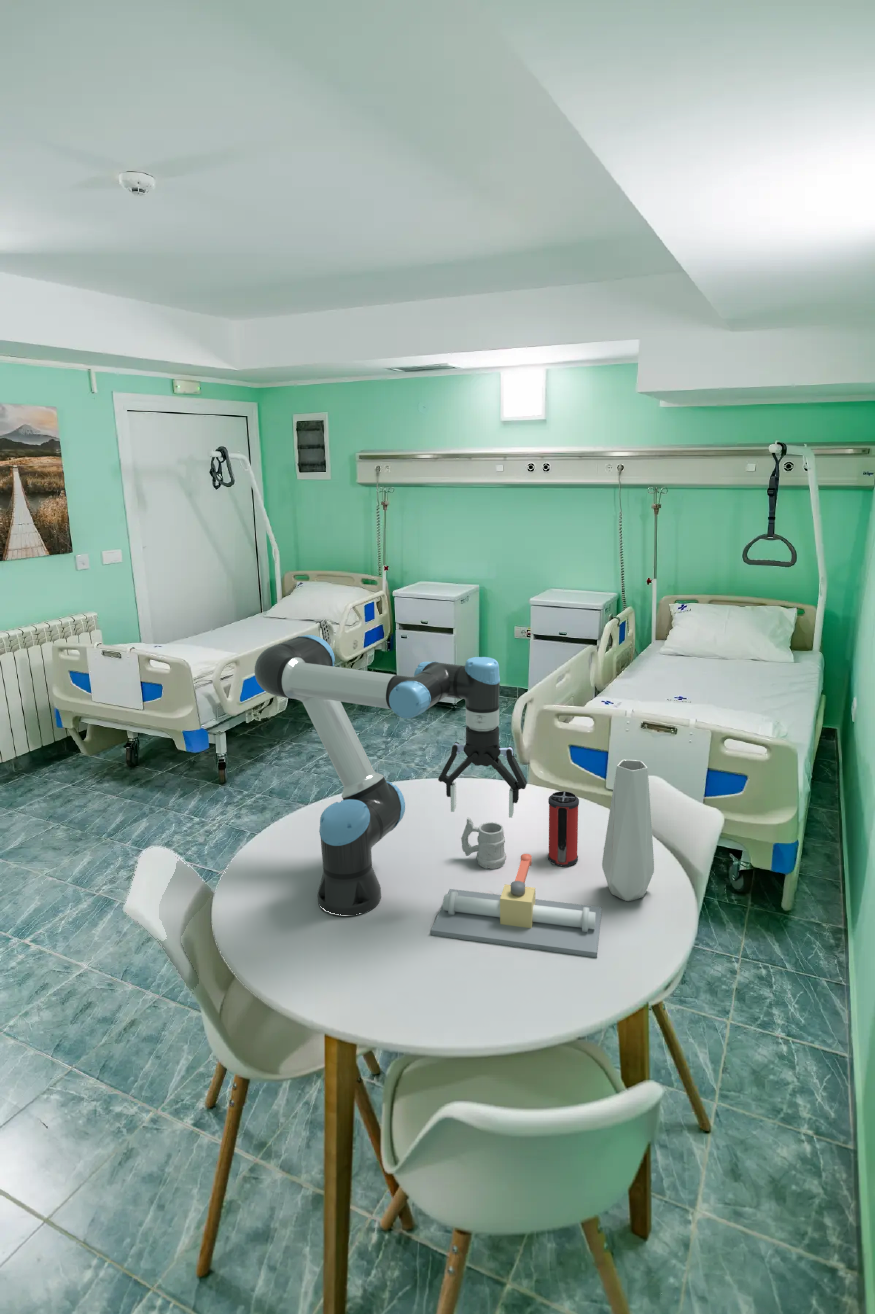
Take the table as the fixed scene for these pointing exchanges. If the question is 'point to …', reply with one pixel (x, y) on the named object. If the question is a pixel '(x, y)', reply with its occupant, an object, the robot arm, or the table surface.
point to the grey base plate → (519, 921)
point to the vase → (629, 833)
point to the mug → (486, 844)
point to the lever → (521, 875)
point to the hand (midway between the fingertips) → (482, 812)
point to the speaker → (563, 828)
